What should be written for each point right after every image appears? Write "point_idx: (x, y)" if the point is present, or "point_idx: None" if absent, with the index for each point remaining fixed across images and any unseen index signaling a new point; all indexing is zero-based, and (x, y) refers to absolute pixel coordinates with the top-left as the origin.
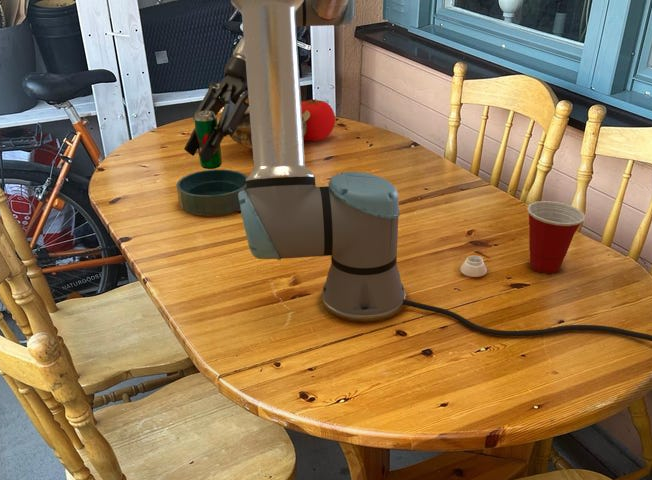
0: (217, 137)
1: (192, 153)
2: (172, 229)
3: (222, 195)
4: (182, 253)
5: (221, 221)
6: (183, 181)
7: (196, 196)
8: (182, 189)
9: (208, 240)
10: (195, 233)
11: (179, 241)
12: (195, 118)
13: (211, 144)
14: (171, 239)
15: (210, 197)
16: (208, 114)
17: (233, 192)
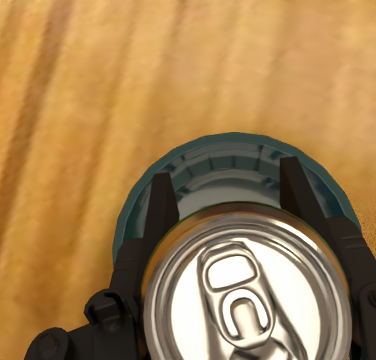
0: (112, 281)
1: (281, 198)
2: (160, 82)
3: (118, 218)
4: (42, 49)
5: (120, 197)
6: (326, 189)
7: (167, 153)
8: (309, 179)
9: (55, 121)
10: (105, 115)
11: (94, 68)
12: (257, 210)
13: (138, 239)
14: (115, 59)
15: (136, 184)
16: (182, 324)
17: (113, 257)
